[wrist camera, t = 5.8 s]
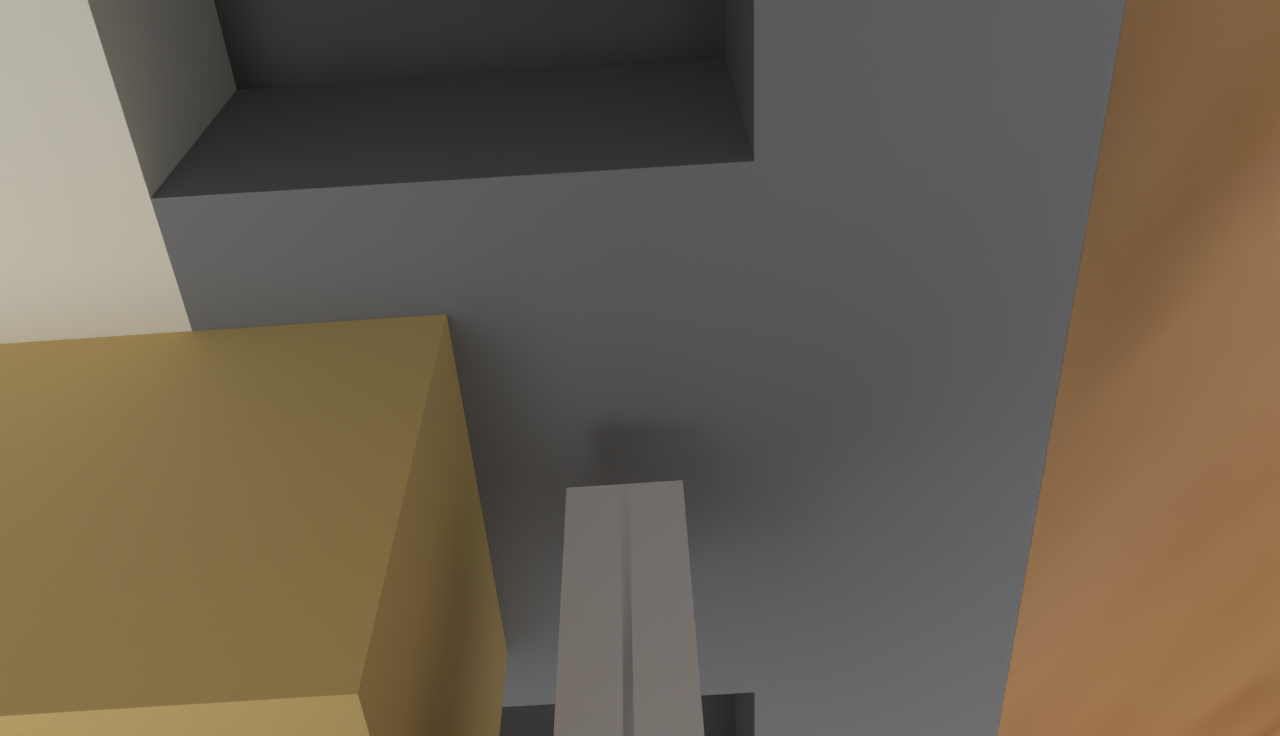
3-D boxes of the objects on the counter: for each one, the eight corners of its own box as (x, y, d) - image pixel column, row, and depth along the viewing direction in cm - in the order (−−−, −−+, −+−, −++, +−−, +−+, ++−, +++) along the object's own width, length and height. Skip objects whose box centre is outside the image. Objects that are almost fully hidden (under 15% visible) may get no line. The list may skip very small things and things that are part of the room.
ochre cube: (446, 313, 14) (358, 693, 9) (507, 652, 17) (467, 1068, 12) (-33, 345, 14) (-383, 740, 9) (118, 676, 17) (-81, 1100, 12)
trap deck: (1097, -782, 12) (1581, -1186, 6) (910, 798, 26) (999, 1139, 20) (-619, -663, 12) (-1797, -941, 6) (126, 843, 26) (-12, 1194, 20)
